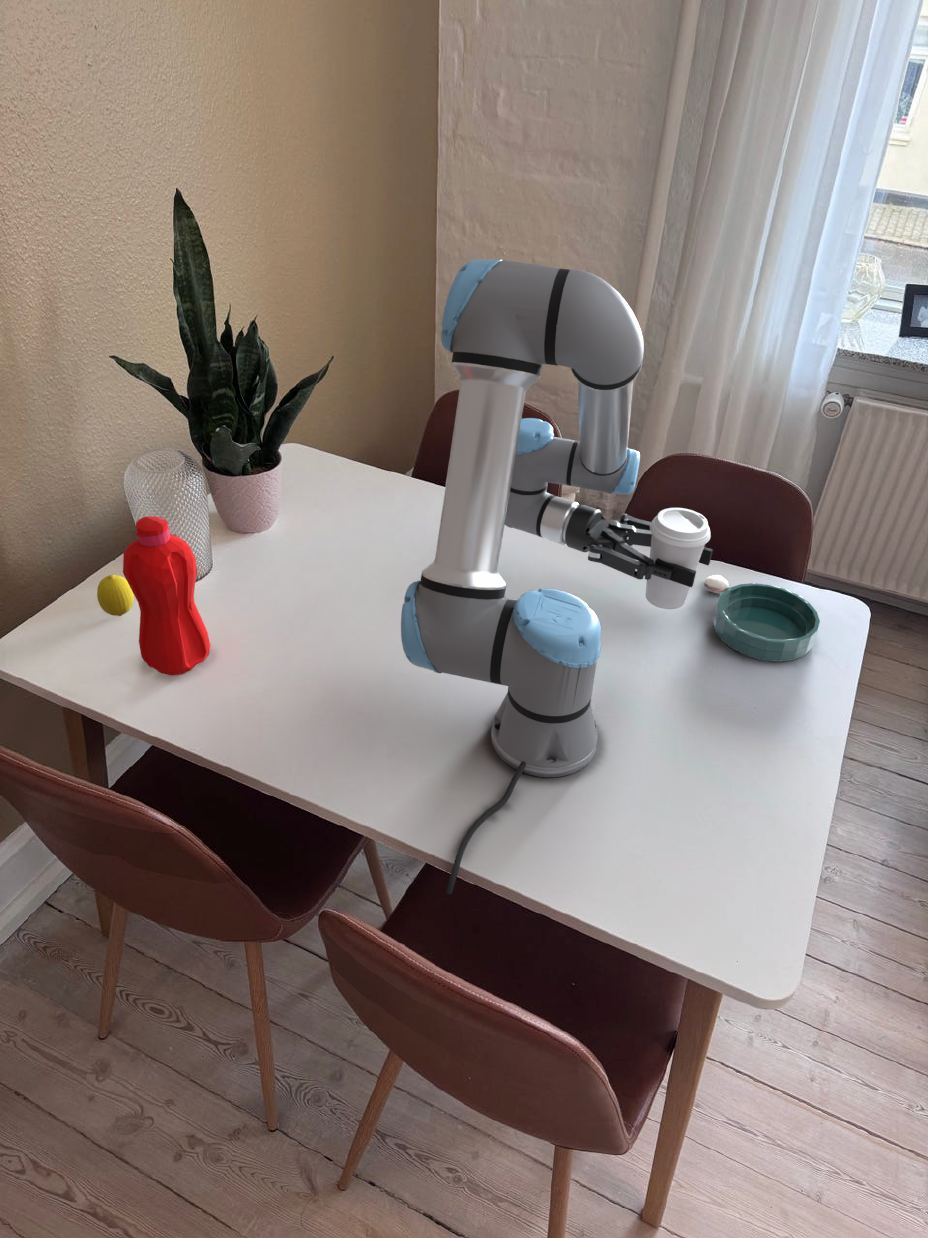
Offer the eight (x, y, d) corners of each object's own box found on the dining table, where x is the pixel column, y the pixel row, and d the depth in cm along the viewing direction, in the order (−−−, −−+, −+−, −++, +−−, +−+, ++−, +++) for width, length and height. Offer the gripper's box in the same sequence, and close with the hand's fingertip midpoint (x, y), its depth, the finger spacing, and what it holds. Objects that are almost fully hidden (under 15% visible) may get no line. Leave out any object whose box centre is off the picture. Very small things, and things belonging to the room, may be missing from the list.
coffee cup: (698, 616, 151) (718, 537, 142) (640, 613, 150) (656, 533, 142) (688, 583, 158) (706, 506, 150) (632, 580, 158) (648, 503, 149)
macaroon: (701, 593, 165) (704, 581, 164) (705, 578, 169) (707, 566, 168) (726, 598, 164) (729, 586, 163) (728, 583, 168) (731, 571, 166)
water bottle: (228, 648, 148) (208, 513, 133) (175, 685, 140) (147, 545, 125) (187, 627, 152) (163, 493, 137) (134, 662, 144) (102, 524, 129)
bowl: (784, 677, 147) (791, 655, 145) (694, 633, 156) (699, 611, 153) (828, 632, 157) (836, 611, 155) (741, 593, 166) (747, 572, 163)
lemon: (142, 607, 156) (134, 567, 151) (129, 626, 151) (120, 586, 147) (110, 604, 156) (101, 564, 151) (96, 623, 152) (86, 583, 147)
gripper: (595, 519, 166) (718, 560, 157) (543, 570, 152) (675, 617, 143) (600, 482, 161) (727, 521, 152) (548, 530, 148) (684, 577, 138)
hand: (702, 568), depth 148 cm, fingers closed on coffee cup, 7 cm apart
